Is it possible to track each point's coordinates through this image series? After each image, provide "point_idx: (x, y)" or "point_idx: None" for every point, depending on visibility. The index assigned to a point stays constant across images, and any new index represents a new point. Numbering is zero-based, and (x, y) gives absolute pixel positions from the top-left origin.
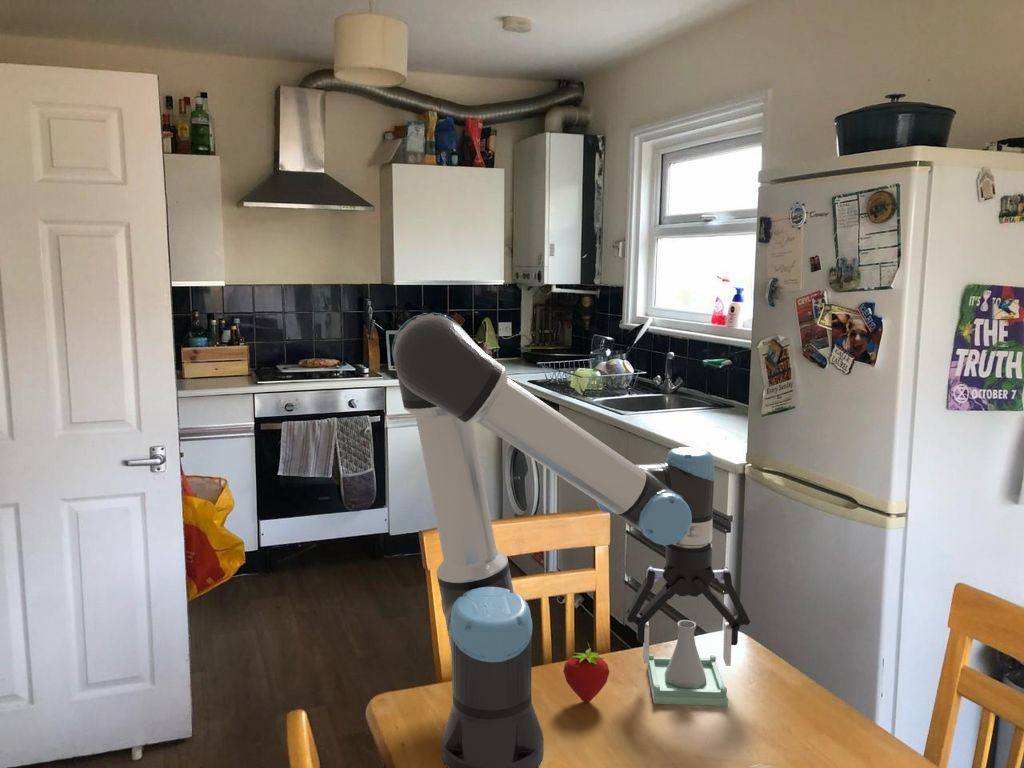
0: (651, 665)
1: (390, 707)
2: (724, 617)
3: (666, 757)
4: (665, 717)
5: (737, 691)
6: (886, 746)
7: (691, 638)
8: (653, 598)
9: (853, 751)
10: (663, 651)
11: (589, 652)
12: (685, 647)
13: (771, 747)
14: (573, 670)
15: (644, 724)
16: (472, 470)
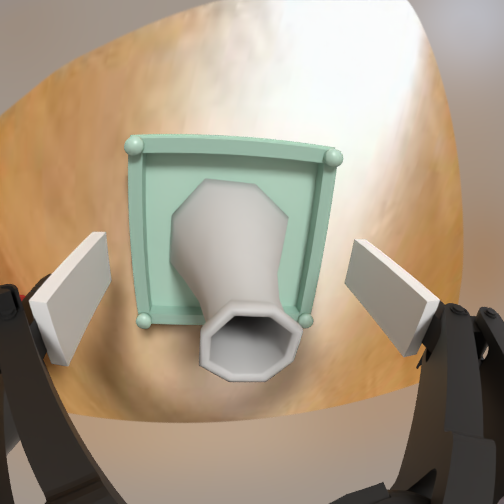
0: (132, 197)
1: None
2: (420, 388)
3: (168, 420)
4: (167, 348)
5: (343, 251)
6: None
7: (258, 337)
8: (17, 423)
9: (407, 378)
10: (202, 37)
11: None
12: (228, 321)
13: (321, 394)
14: None
15: (130, 364)
16: None
